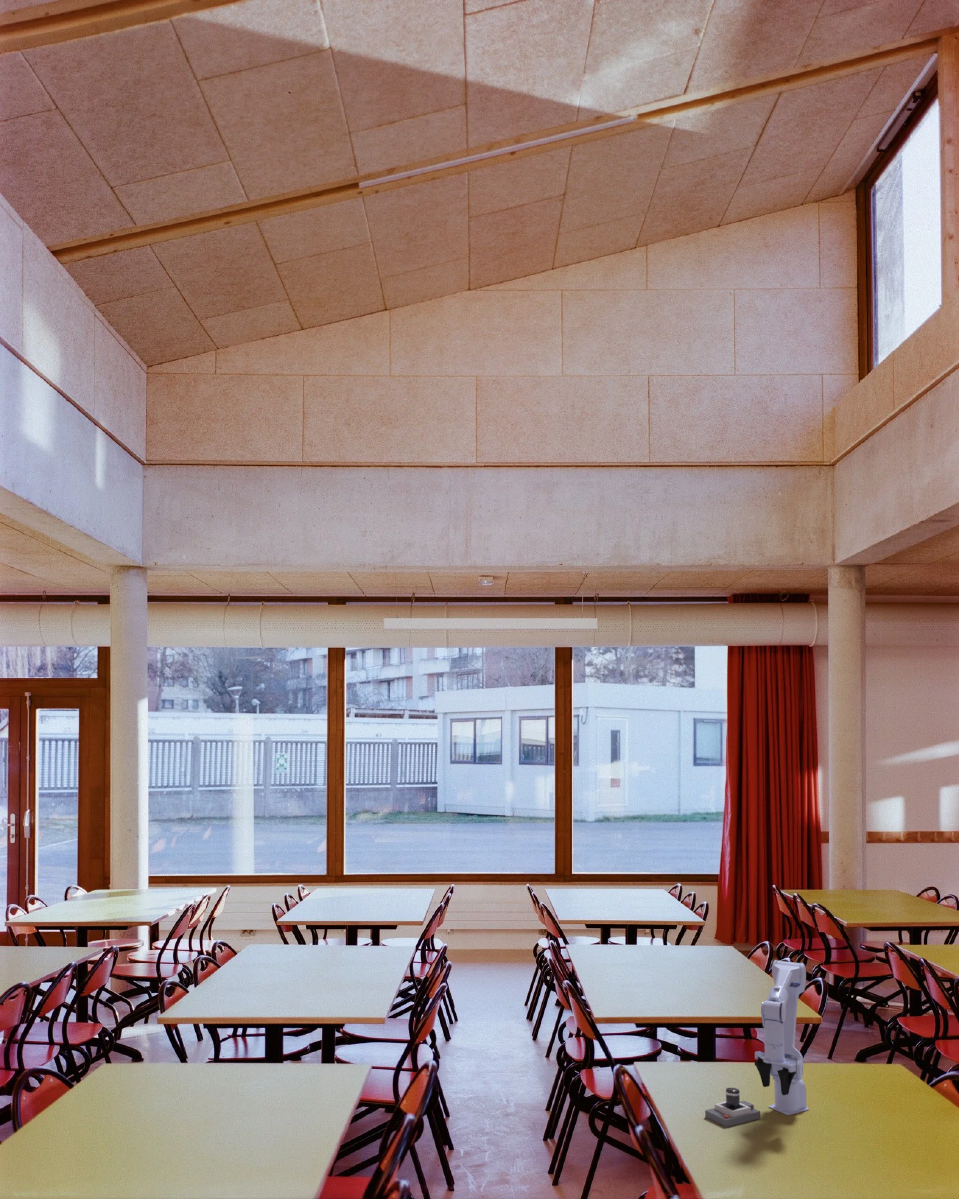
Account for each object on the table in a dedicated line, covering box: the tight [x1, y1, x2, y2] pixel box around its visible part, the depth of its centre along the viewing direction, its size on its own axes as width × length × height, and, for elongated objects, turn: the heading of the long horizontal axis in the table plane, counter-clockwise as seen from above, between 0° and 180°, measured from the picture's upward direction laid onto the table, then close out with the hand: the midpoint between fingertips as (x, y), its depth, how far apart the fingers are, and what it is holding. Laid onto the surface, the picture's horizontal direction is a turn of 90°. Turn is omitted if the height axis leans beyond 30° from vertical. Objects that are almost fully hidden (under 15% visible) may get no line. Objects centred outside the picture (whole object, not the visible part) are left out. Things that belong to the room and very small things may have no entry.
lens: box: [725, 1087, 741, 1110], centre depth 308 cm, size 4×4×6 cm
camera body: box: [704, 1100, 761, 1128], centre depth 308 cm, size 14×9×4 cm, turn 120°
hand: (775, 1090), depth 303 cm, fingers open, 7 cm apart
